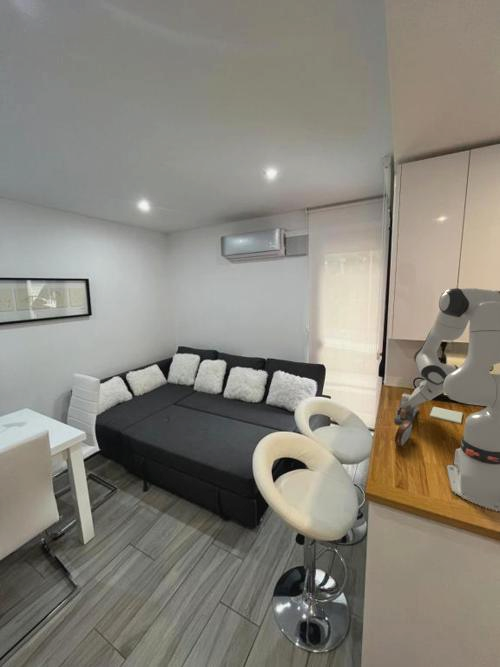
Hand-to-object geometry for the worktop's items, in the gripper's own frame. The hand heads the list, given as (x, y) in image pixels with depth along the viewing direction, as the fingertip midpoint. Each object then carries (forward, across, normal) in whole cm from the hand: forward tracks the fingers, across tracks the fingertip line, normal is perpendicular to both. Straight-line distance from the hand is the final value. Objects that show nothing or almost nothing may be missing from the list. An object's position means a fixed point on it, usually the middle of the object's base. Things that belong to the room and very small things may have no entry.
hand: (406, 402), depth 142 cm
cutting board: (-6, -13, +17) cm, 23 cm away
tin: (+2, +27, +9) cm, 28 cm away
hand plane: (+5, 0, +6) cm, 8 cm away
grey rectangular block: (+3, 0, +4) cm, 5 cm away
